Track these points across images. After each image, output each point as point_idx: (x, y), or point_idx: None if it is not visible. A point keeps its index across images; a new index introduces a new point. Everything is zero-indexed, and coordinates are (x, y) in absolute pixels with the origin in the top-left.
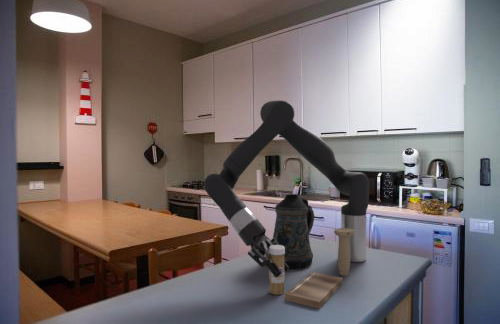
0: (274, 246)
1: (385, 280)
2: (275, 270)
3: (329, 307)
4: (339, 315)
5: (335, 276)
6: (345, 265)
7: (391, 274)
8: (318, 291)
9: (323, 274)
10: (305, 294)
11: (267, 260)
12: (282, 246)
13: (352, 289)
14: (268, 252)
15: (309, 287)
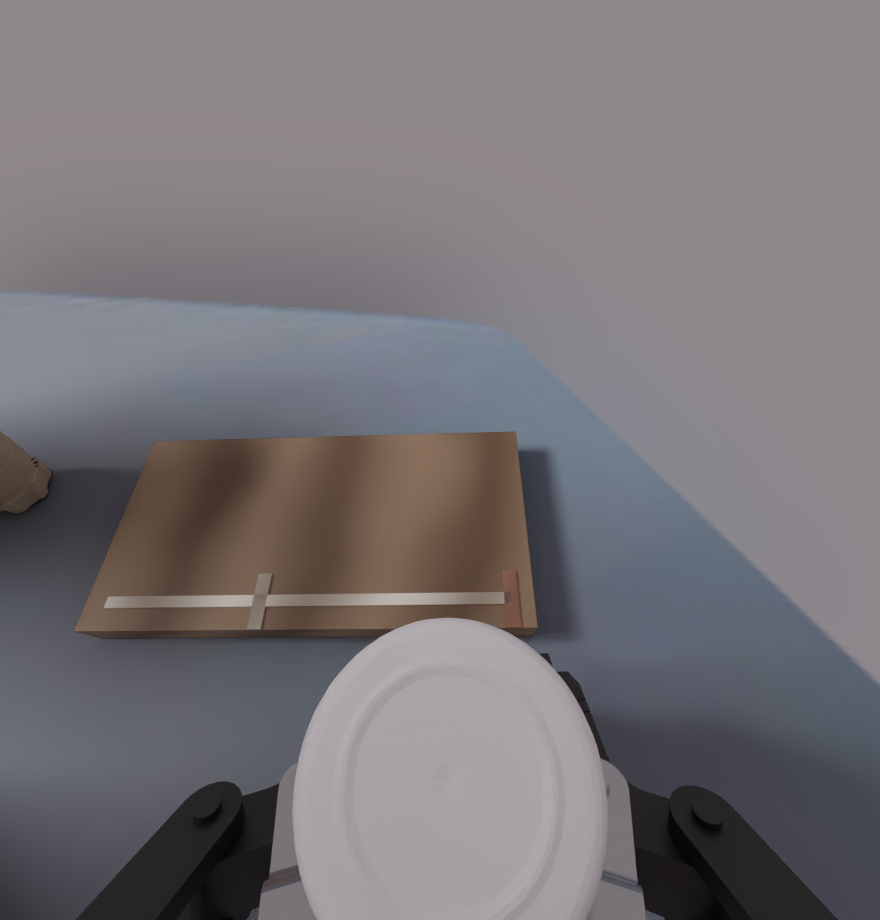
0: (463, 845)
1: (92, 338)
2: (584, 697)
3: (474, 424)
4: (518, 378)
5: (140, 477)
6: (5, 440)
7: (9, 335)
8: (399, 476)
9: (116, 545)
10: (476, 516)
11: (700, 805)
12: (386, 675)
13: (237, 407)
14: (603, 905)
15: (367, 537)
